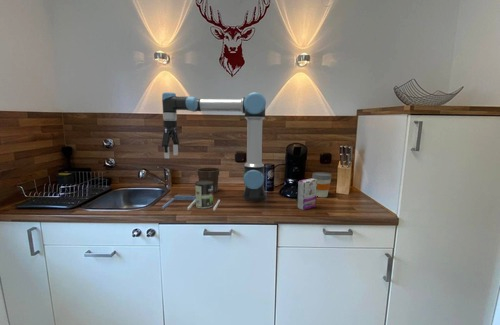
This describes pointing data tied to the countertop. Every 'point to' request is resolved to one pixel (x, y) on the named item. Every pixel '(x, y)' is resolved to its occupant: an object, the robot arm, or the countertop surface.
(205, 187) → the coffee can
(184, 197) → the divider rack
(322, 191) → the reusable coffee cup
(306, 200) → the candy bar box
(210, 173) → the plant pot
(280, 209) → the countertop surface
